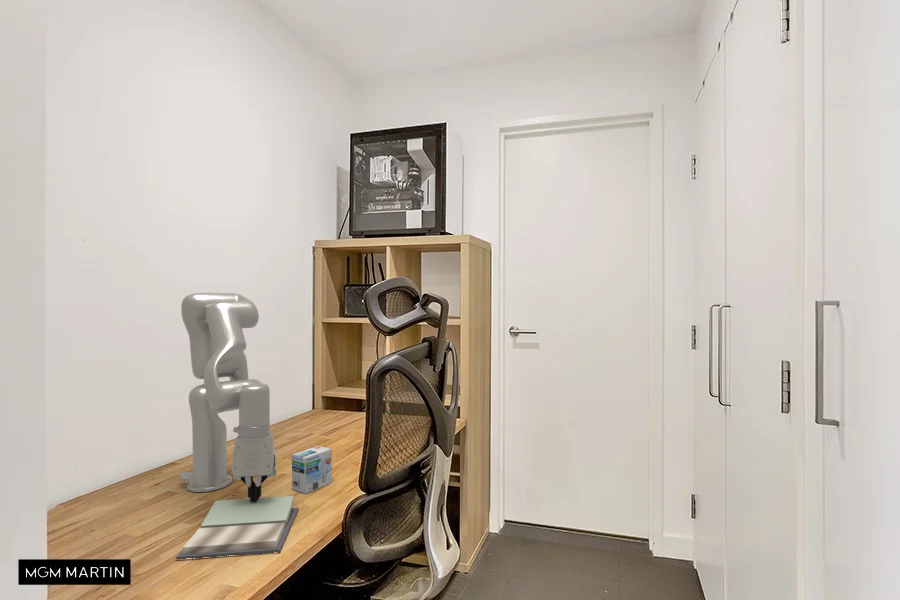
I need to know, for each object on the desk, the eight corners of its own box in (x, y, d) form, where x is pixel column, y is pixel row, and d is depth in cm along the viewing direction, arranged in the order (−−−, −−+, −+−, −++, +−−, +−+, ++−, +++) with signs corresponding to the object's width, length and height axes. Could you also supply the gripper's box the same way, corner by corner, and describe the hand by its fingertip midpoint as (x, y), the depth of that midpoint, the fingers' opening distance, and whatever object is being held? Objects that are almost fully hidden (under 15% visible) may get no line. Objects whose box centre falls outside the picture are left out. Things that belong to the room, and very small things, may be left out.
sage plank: (201, 531, 114) (200, 525, 114) (216, 505, 124) (215, 500, 124) (286, 525, 117) (285, 520, 117) (294, 500, 127) (293, 495, 126)
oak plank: (182, 554, 104) (182, 547, 104) (200, 533, 113) (200, 526, 113) (276, 547, 106) (276, 540, 106) (285, 527, 116) (285, 521, 116)
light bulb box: (306, 494, 138) (305, 458, 138) (290, 490, 142) (290, 454, 142) (332, 482, 147) (332, 448, 147) (317, 478, 151) (317, 445, 151)
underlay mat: (175, 560, 103) (175, 557, 103) (213, 515, 124) (213, 512, 125) (279, 552, 106) (279, 549, 106) (298, 510, 127) (298, 507, 127)
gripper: (219, 436, 119) (220, 508, 119) (280, 433, 122) (281, 504, 122) (229, 428, 127) (229, 495, 127) (286, 425, 129) (286, 492, 129)
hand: (254, 499), depth 124 cm, fingers closed
